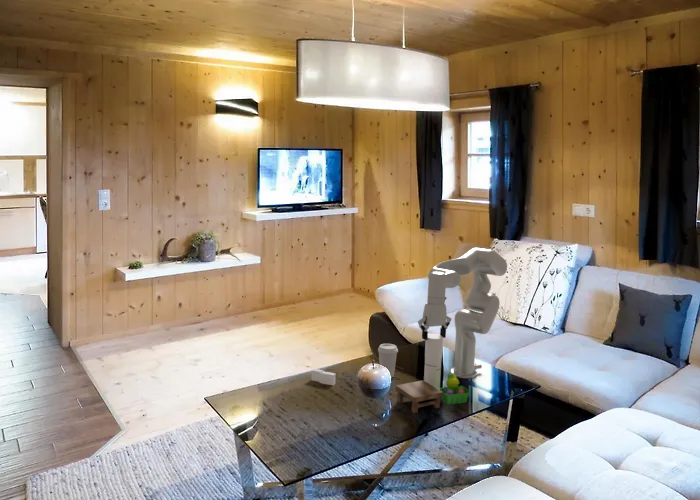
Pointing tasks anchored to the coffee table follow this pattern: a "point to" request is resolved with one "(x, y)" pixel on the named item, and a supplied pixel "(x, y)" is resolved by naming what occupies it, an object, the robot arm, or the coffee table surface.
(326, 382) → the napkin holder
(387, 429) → the coffee table surface
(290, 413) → the coffee table surface
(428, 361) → the cylindrical container
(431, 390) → the stool
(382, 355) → the coffee cup
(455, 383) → the fruit basket
